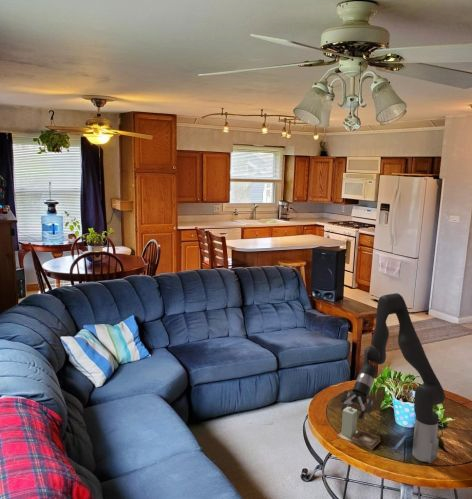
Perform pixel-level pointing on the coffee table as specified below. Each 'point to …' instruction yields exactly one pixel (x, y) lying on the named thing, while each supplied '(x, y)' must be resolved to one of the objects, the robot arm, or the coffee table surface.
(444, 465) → the coffee table surface
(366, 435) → the mount board
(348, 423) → the cabinet block
